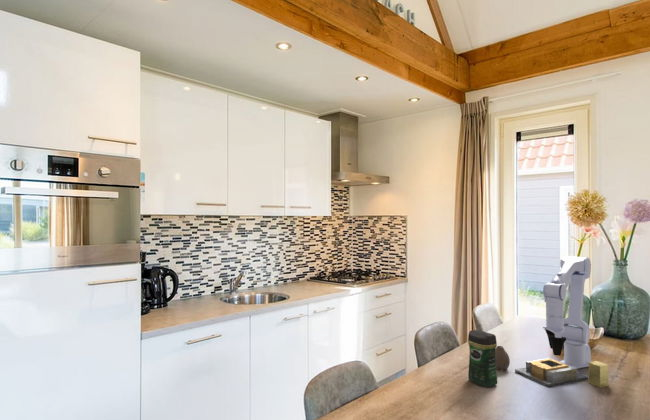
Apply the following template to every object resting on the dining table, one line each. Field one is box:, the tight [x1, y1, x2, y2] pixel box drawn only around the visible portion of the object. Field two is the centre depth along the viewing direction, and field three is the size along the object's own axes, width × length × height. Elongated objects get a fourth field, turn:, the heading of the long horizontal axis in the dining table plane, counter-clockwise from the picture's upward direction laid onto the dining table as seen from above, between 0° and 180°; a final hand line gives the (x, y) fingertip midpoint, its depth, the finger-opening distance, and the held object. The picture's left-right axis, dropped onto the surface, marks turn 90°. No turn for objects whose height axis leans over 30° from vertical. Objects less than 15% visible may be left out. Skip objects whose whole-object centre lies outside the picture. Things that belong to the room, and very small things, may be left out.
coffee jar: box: [467, 329, 498, 388], centre depth 146 cm, size 10×8×19 cm
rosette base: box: [514, 357, 589, 388], centre depth 152 cm, size 20×15×5 cm
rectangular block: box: [588, 360, 609, 388], centre depth 144 cm, size 4×4×8 cm
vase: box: [495, 345, 511, 372], centre depth 159 cm, size 7×7×9 cm
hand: (555, 351), depth 150 cm, fingers open, 7 cm apart
